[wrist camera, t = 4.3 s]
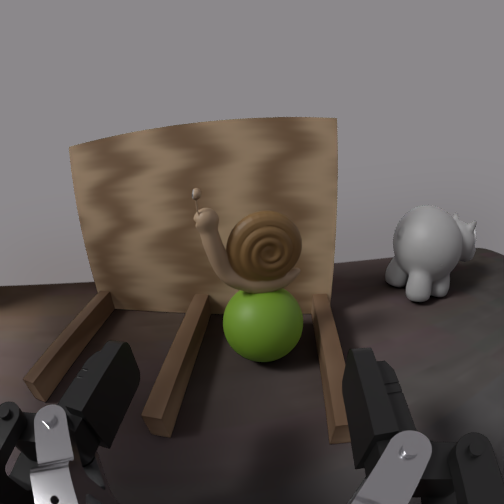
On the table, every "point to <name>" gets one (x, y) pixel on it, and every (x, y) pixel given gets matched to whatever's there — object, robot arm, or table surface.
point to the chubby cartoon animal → (429, 251)
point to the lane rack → (199, 239)
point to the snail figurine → (256, 280)
